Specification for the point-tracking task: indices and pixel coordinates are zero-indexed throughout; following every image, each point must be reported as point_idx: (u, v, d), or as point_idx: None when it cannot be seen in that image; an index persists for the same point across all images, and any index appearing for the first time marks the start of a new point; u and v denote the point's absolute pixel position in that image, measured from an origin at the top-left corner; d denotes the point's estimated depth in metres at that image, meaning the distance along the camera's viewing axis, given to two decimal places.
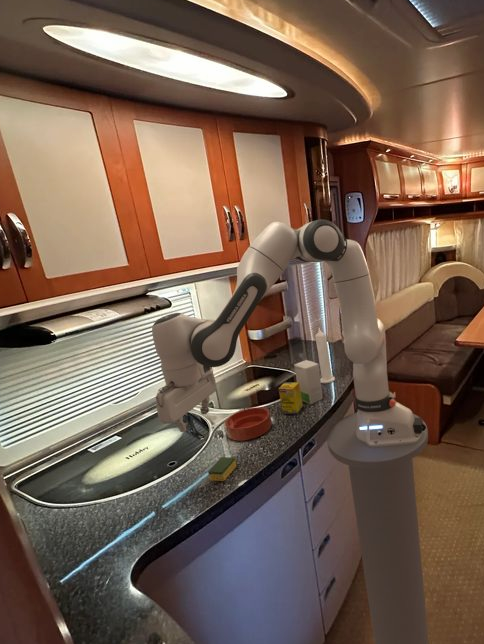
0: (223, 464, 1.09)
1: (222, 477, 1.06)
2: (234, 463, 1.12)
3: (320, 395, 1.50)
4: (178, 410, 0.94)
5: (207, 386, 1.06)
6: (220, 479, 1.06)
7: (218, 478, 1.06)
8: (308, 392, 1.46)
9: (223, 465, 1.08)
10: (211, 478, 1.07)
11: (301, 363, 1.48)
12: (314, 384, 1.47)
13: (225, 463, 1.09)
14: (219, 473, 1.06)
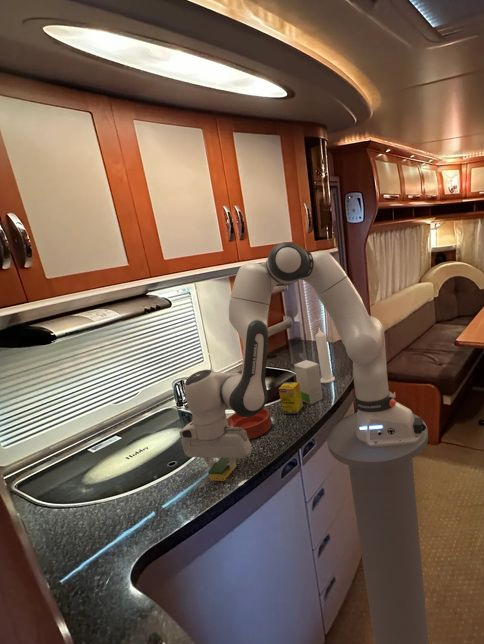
0: (223, 464, 1.09)
1: (222, 477, 1.06)
2: (234, 463, 1.12)
3: (320, 395, 1.50)
4: None
5: None
6: (220, 479, 1.06)
7: (218, 478, 1.06)
8: (308, 392, 1.46)
9: (223, 465, 1.08)
10: (211, 478, 1.07)
11: (301, 363, 1.48)
12: (314, 384, 1.47)
13: (225, 463, 1.09)
14: (219, 473, 1.06)
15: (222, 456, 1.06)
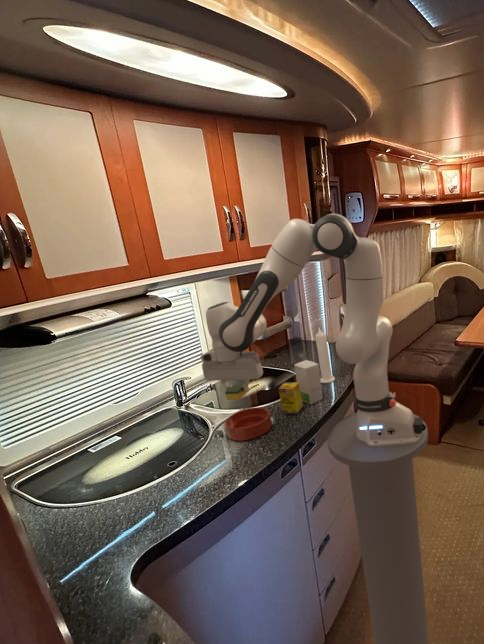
0: (238, 387, 1.25)
1: (237, 396, 1.22)
2: None
3: (320, 395, 1.50)
4: None
5: None
6: (236, 398, 1.22)
7: (234, 397, 1.22)
8: (308, 392, 1.46)
9: (238, 387, 1.24)
10: (228, 398, 1.23)
11: (301, 363, 1.48)
12: (314, 384, 1.47)
13: (240, 386, 1.25)
14: (235, 393, 1.22)
15: (237, 378, 1.22)
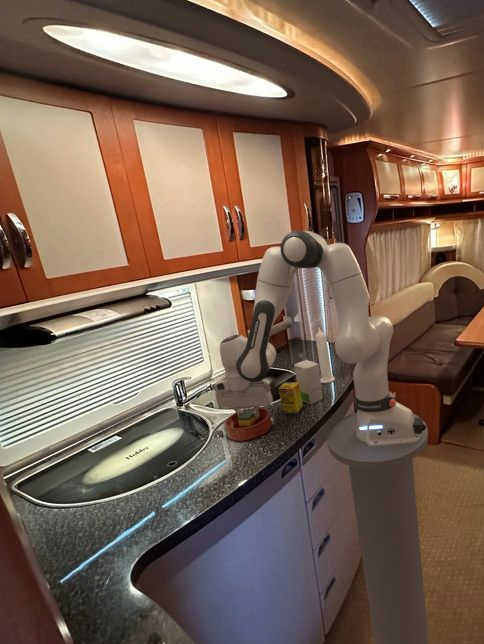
0: (249, 413, 1.33)
1: (249, 422, 1.30)
2: None
3: (320, 395, 1.50)
4: None
5: None
6: (247, 424, 1.30)
7: (245, 423, 1.30)
8: (308, 392, 1.46)
9: (249, 413, 1.32)
10: (240, 423, 1.31)
11: (301, 363, 1.48)
12: (314, 384, 1.47)
13: (251, 412, 1.33)
14: (246, 419, 1.30)
15: (249, 405, 1.30)
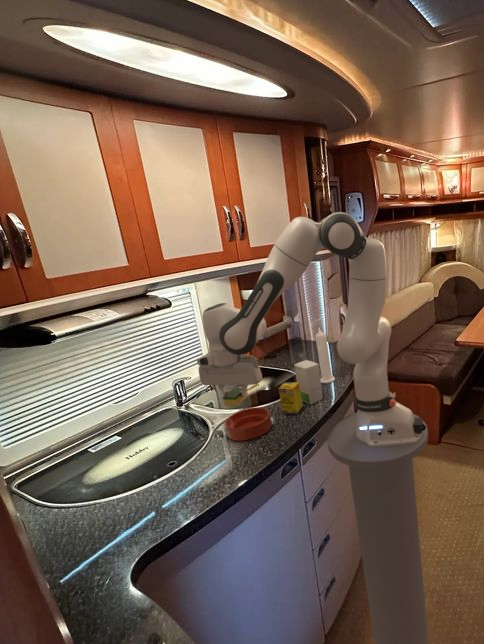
0: (236, 392, 1.19)
1: (235, 402, 1.16)
2: (246, 392, 1.22)
3: (320, 395, 1.50)
4: None
5: None
6: (233, 404, 1.17)
7: (231, 403, 1.17)
8: (308, 392, 1.46)
9: (236, 393, 1.19)
10: (225, 403, 1.17)
11: (301, 363, 1.48)
12: (314, 384, 1.47)
13: (238, 391, 1.20)
14: (233, 398, 1.16)
15: (235, 383, 1.16)
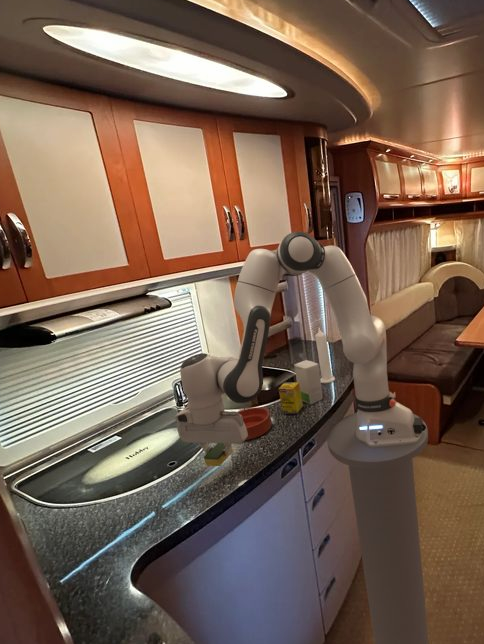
0: (219, 449, 1.08)
1: (218, 462, 1.05)
2: (230, 449, 1.10)
3: (320, 395, 1.50)
4: None
5: None
6: (216, 464, 1.05)
7: (214, 463, 1.05)
8: (308, 392, 1.46)
9: (219, 450, 1.07)
10: (207, 463, 1.06)
11: (301, 363, 1.48)
12: (314, 384, 1.47)
13: (221, 449, 1.08)
14: (215, 458, 1.05)
15: (218, 441, 1.05)
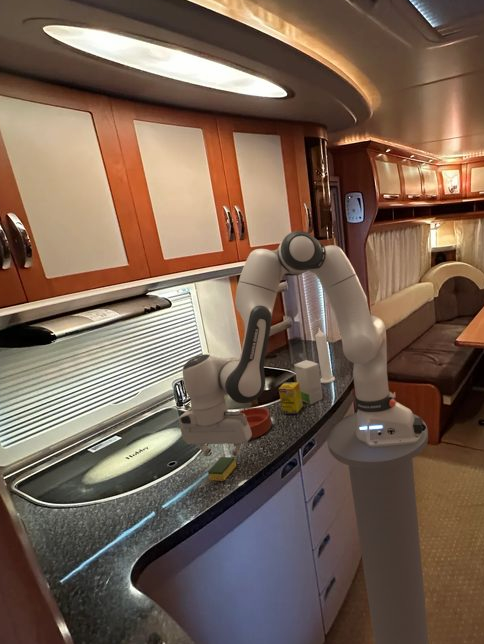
0: (223, 464, 1.09)
1: (222, 477, 1.06)
2: (234, 463, 1.12)
3: (320, 395, 1.50)
4: None
5: None
6: (220, 479, 1.06)
7: (218, 477, 1.06)
8: (308, 392, 1.46)
9: (223, 465, 1.09)
10: (211, 478, 1.07)
11: (301, 363, 1.48)
12: (314, 384, 1.47)
13: (225, 463, 1.09)
14: (219, 473, 1.06)
15: (222, 442, 1.05)
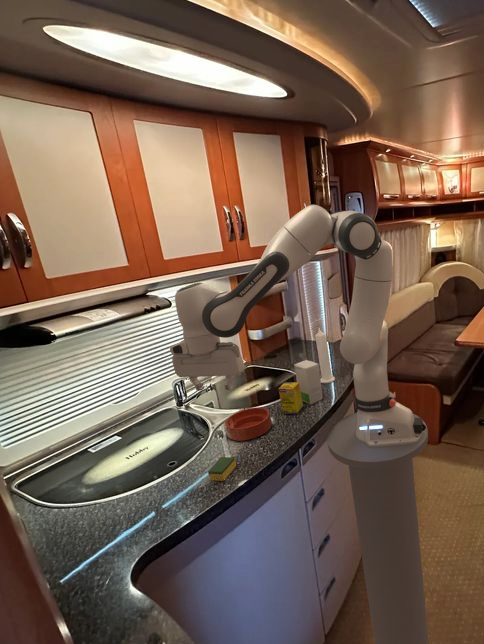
0: (223, 464, 1.09)
1: (222, 477, 1.06)
2: (234, 463, 1.12)
3: (320, 395, 1.50)
4: None
5: None
6: (220, 479, 1.06)
7: (218, 477, 1.06)
8: (308, 392, 1.46)
9: (223, 465, 1.09)
10: (211, 478, 1.07)
11: (301, 363, 1.48)
12: (314, 384, 1.47)
13: (225, 463, 1.09)
14: (219, 473, 1.06)
15: (214, 374, 1.02)
